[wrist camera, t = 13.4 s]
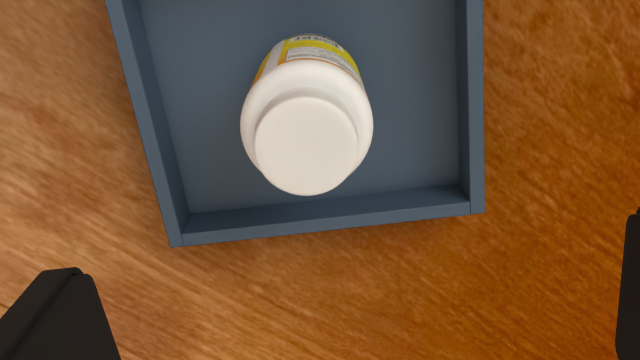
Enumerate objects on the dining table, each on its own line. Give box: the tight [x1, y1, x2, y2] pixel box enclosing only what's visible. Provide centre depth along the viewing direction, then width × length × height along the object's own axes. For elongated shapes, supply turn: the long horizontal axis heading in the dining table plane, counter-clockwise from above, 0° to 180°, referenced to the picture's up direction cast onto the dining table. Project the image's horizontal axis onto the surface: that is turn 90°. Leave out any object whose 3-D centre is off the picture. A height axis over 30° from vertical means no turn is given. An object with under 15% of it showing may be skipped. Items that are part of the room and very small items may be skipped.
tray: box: [104, 0, 485, 248], centre depth 29 cm, size 18×16×3 cm
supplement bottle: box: [240, 34, 373, 196], centre depth 25 cm, size 6×6×10 cm
